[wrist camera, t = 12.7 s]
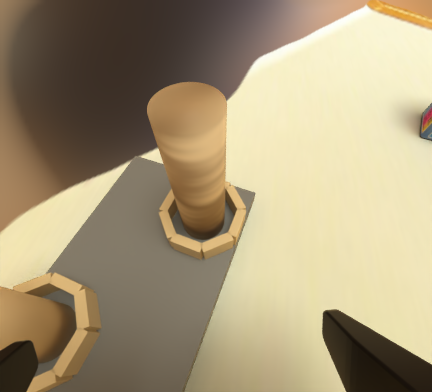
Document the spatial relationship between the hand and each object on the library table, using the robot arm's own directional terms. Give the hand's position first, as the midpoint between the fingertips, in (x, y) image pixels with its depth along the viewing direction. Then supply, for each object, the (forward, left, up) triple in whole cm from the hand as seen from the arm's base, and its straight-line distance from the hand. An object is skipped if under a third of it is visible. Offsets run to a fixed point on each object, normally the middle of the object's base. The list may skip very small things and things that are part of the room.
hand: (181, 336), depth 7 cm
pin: (+4, -9, -12) cm, 16 cm away
